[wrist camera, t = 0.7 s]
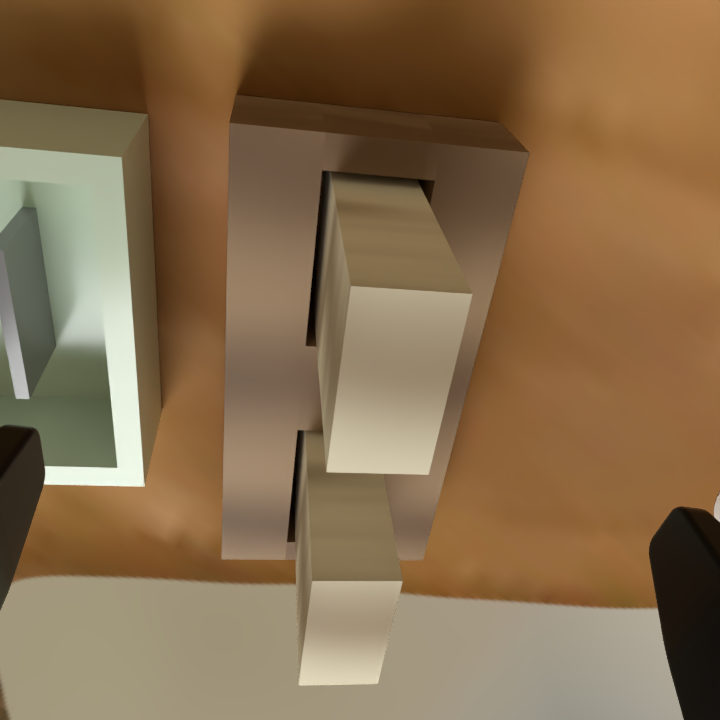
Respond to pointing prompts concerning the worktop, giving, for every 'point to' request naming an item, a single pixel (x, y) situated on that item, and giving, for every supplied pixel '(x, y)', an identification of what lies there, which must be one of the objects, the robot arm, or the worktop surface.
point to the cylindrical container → (717, 508)
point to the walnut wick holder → (293, 287)
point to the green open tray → (79, 290)
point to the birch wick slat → (384, 323)
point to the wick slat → (342, 569)
